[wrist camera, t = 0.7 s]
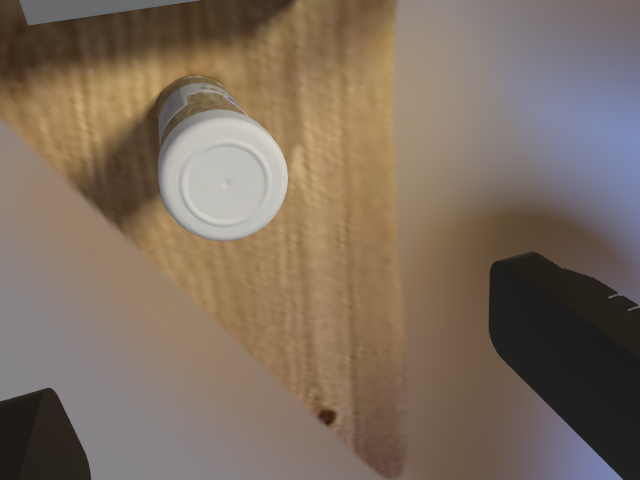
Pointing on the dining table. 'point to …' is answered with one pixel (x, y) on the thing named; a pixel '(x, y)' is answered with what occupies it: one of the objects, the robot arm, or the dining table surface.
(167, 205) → the sprinkles bottle
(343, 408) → the dining table surface
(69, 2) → the well block
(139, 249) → the dining table surface
